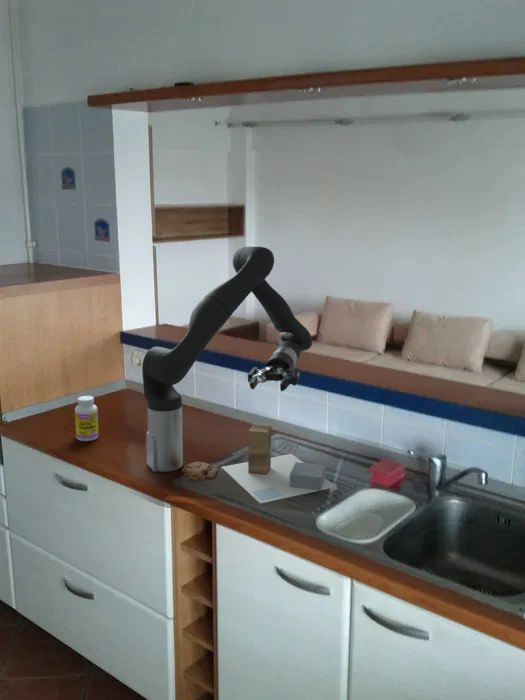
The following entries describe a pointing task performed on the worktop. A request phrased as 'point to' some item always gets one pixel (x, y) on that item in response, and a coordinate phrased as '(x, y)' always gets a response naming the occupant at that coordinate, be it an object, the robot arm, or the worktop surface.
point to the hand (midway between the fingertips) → (266, 387)
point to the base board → (281, 479)
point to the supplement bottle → (86, 419)
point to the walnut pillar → (259, 449)
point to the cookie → (199, 471)
